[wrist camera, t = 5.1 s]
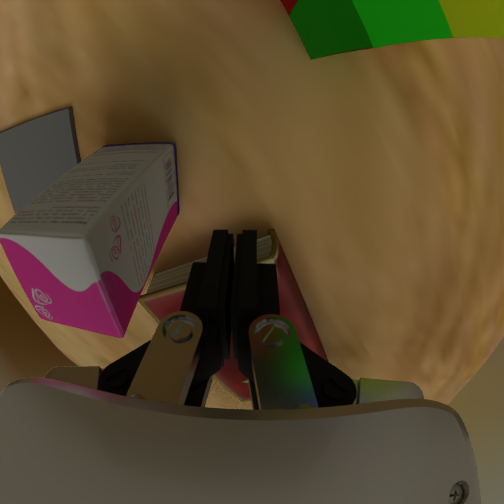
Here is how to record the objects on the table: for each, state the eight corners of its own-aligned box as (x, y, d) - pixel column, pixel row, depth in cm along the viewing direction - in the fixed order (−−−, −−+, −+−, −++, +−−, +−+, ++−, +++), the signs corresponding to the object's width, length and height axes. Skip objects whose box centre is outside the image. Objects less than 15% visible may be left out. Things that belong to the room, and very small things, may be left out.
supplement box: (101, 144, 17) (-9, 230, 8) (177, 141, 17) (91, 235, 8) (112, 213, 20) (38, 322, 11) (180, 215, 20) (130, 342, 11)
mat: (71, 106, 15) (68, 108, 14) (104, 251, 23) (102, 254, 22) (-2, 134, 15) (-6, 136, 14) (33, 249, 23) (31, 252, 22)
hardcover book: (275, 224, 21) (278, 258, 18) (329, 358, 33) (333, 386, 30) (150, 268, 24) (136, 302, 21) (242, 376, 36) (241, 403, 32)
